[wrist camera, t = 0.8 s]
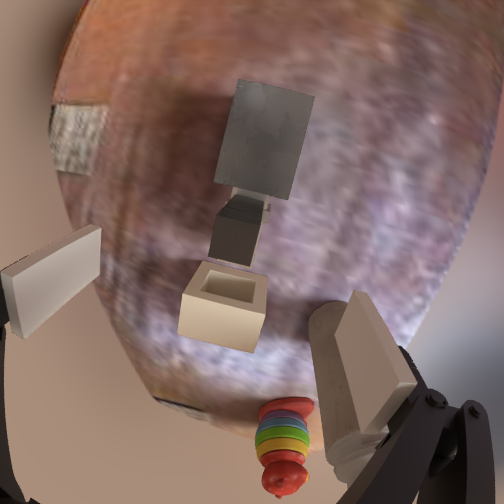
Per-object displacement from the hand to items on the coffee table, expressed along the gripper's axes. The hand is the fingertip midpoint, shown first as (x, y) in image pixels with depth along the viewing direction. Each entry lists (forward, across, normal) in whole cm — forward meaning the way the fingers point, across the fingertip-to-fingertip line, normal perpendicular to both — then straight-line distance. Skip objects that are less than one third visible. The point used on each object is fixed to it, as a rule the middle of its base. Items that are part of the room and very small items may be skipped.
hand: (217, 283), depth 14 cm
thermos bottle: (+24, +16, -14) cm, 32 cm away
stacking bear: (+24, +15, -36) cm, 46 cm away
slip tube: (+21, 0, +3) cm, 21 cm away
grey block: (+24, 0, +8) cm, 25 cm away
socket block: (+24, 0, -12) cm, 27 cm away
